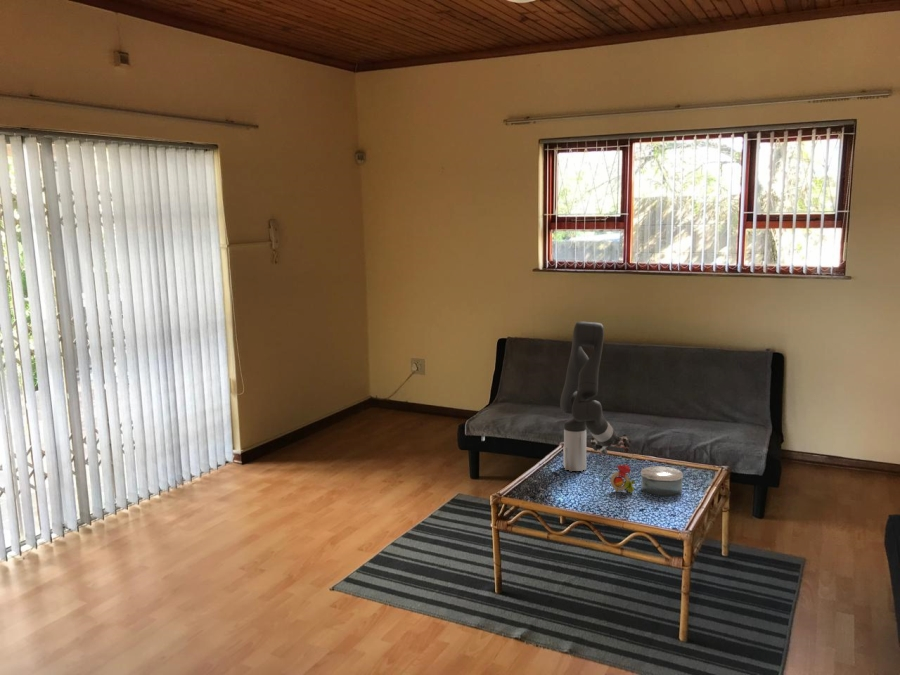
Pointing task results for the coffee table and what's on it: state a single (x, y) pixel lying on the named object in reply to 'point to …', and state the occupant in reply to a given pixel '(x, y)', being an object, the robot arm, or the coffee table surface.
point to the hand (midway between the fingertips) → (616, 451)
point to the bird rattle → (618, 481)
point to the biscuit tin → (661, 481)
